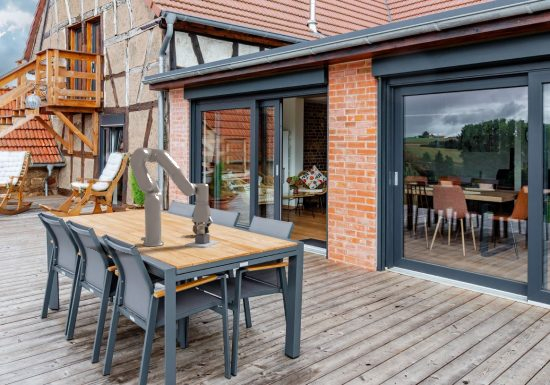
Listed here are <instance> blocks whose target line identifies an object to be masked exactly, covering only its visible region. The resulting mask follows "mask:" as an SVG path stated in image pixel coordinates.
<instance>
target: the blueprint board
mask: <svg viewBox="0 0 550 385" xmlns="http://www.w3.org/2000/svg"><path fill="white" fill-rule="evenodd" d="M219 243H220V240H211V239H210V242H208V243H206V244H200V243H195V240H194V241H191V242H188V243H185V244H184V246H185V247H190V248H204V249H206V248H210V247H211V246H215V245H217V244H219Z"/></svg>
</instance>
